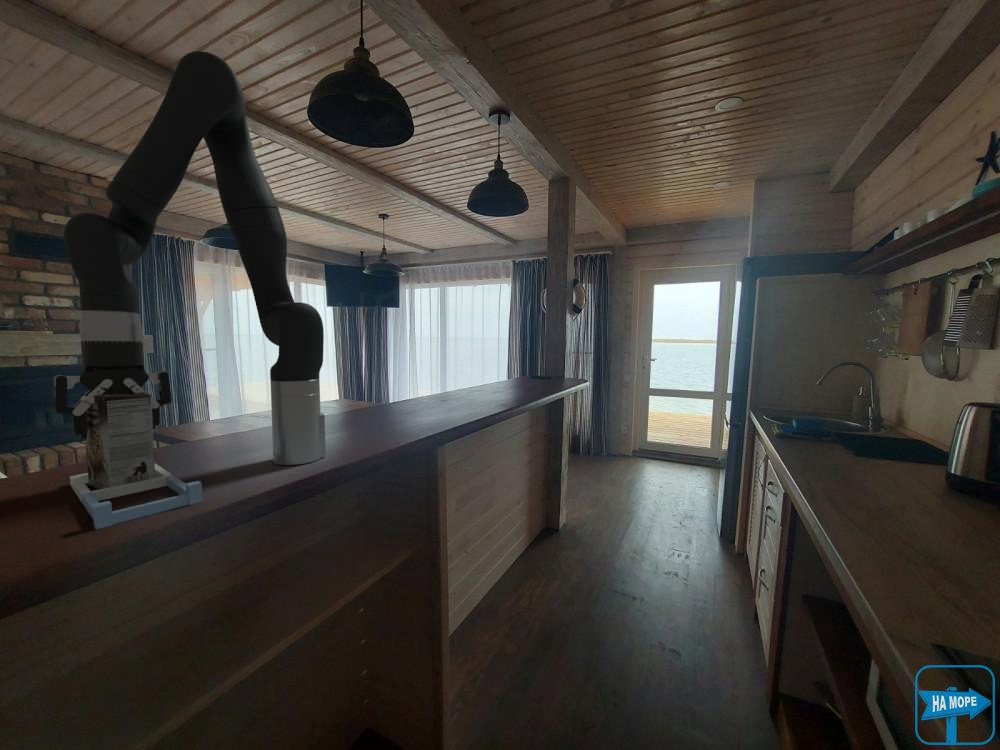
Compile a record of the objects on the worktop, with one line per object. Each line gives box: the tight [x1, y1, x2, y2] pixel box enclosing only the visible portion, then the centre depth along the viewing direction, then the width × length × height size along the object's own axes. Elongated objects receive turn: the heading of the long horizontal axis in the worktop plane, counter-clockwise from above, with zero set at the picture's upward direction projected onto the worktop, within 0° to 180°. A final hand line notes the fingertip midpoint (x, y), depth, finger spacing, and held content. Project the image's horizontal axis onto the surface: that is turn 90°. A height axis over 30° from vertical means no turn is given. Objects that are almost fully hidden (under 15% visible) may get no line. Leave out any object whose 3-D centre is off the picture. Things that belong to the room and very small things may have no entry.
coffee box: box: [81, 393, 156, 490], centre depth 67 cm, size 9×6×16 cm
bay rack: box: [69, 462, 203, 530], centre depth 64 cm, size 12×27×3 cm, turn 53°
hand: (118, 433), depth 67 cm, fingers open, 8 cm apart
